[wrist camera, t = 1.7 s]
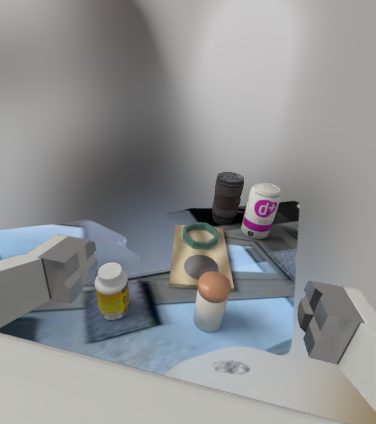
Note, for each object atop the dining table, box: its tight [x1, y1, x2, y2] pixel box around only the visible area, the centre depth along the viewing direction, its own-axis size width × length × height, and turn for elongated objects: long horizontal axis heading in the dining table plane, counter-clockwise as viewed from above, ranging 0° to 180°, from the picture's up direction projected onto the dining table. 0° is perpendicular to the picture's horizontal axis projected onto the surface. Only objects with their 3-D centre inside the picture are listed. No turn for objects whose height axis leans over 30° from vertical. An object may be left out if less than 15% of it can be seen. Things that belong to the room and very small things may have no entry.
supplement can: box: [241, 182, 281, 239], centre depth 67 cm, size 8×8×15 cm
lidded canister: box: [194, 271, 231, 333], centre depth 42 cm, size 6×6×10 cm
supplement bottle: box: [95, 262, 129, 320], centre depth 42 cm, size 6×6×10 cm
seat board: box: [169, 222, 234, 291], centre depth 59 cm, size 14×22×3 cm, turn 179°
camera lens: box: [212, 172, 244, 225], centre depth 71 cm, size 8×8×15 cm
